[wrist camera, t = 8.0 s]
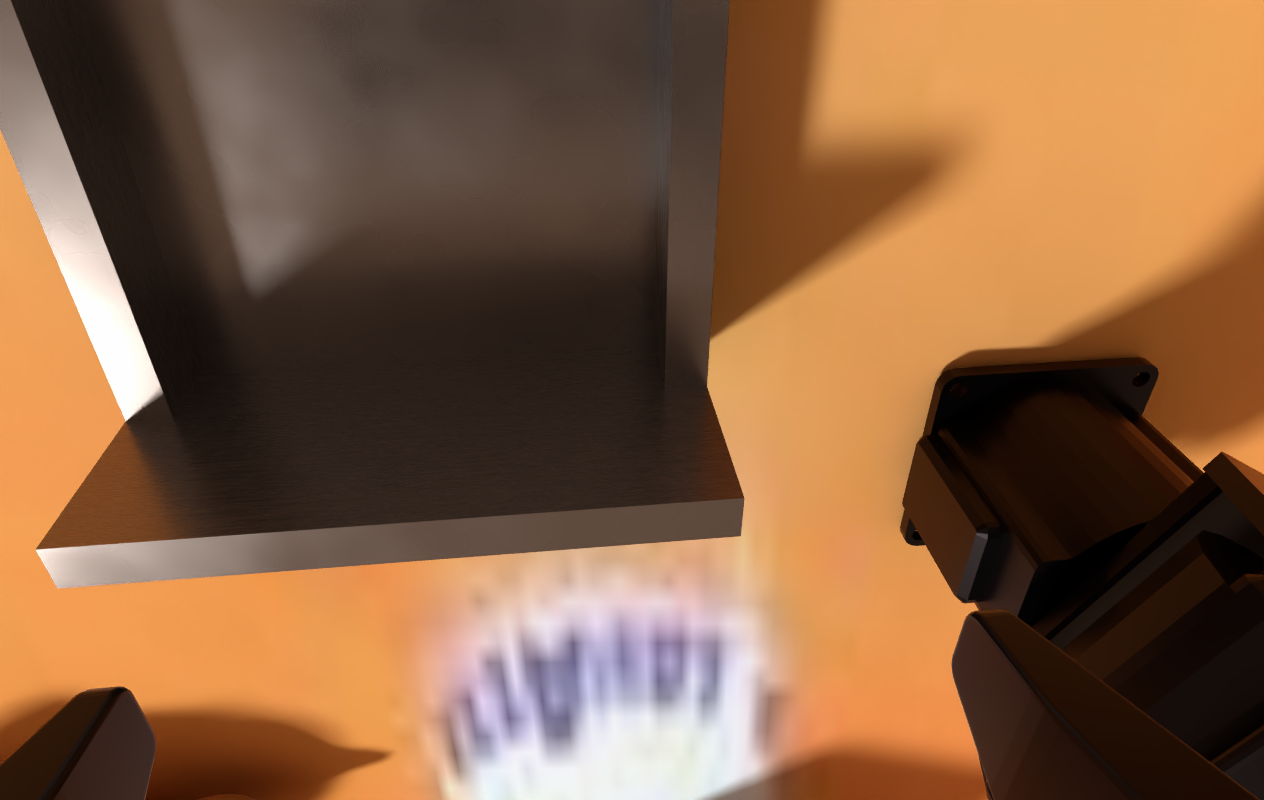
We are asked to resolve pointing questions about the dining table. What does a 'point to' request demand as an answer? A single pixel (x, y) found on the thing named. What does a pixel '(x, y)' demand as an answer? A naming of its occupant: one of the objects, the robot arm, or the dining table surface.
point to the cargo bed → (380, 274)
